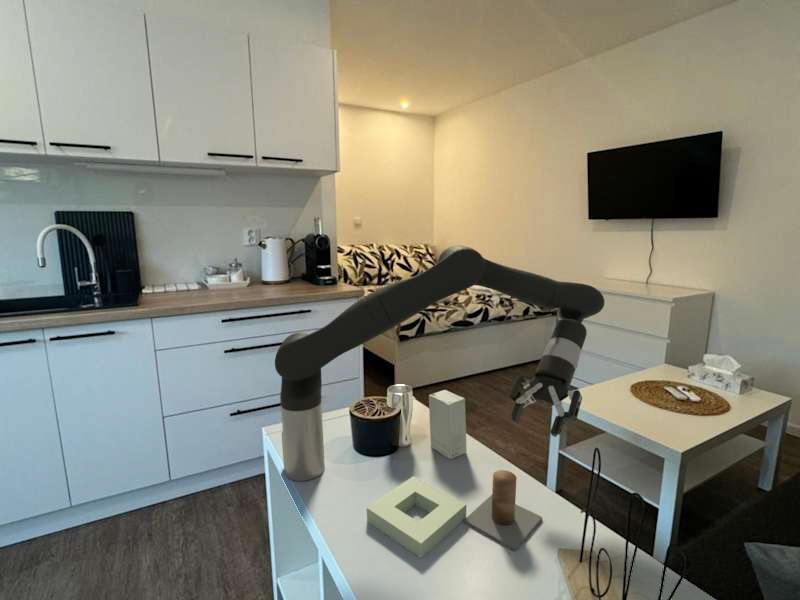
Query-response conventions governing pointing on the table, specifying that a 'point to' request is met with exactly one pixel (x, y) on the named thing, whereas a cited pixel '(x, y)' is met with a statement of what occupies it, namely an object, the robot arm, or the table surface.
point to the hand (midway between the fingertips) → (533, 428)
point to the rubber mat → (504, 534)
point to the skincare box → (447, 423)
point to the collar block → (406, 529)
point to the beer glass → (402, 409)
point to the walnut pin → (503, 497)
